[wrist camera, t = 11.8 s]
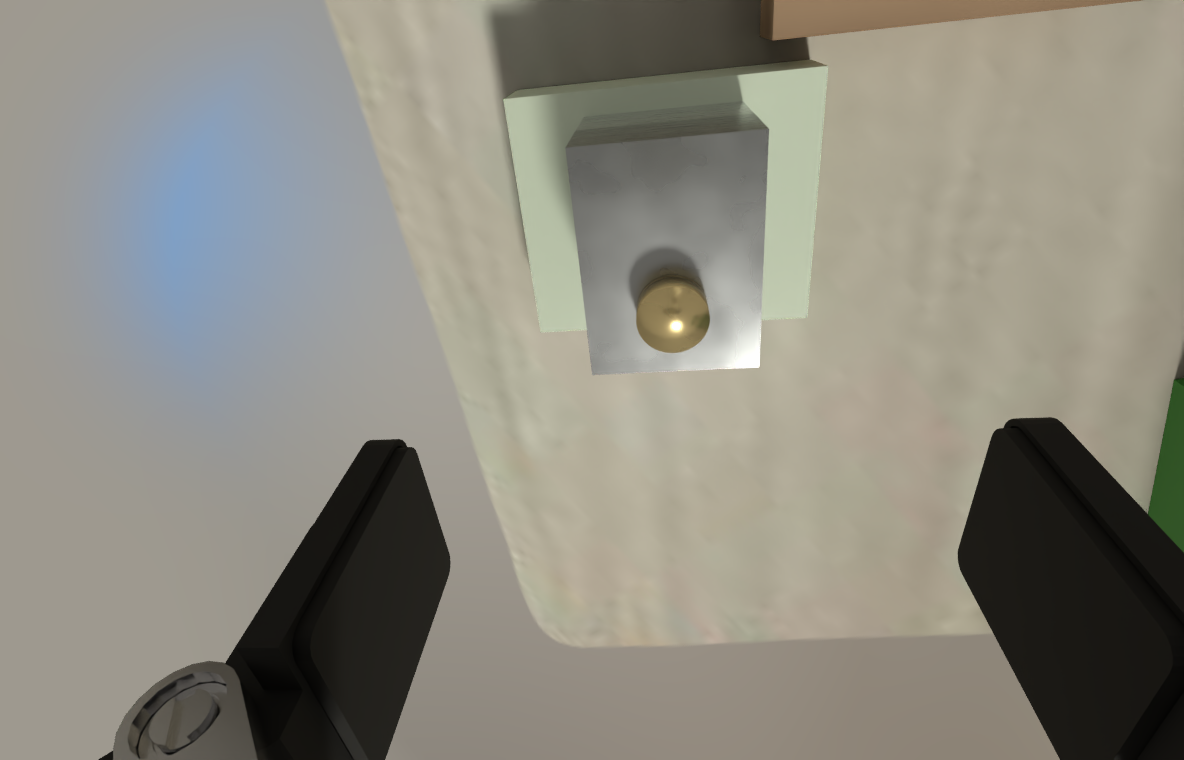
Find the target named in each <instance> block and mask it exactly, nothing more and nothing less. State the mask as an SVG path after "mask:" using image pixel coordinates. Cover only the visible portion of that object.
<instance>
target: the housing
mask: <svg viewBox="0 0 1184 760" xmlns="http://www.w3.org/2000/svg"><path fill="white" fill-rule="evenodd" d="M768 145H769V128H768V127H767V126H766V125H765V124H764V123H763V122H762V121H761V120H760V119H759V118H758V116H757V115H756V114H755V113H754V112H753V111H752V110H751V109H750V108H749V107H748V106H747V105H746V104H745V103H744V102H743V101H739V102H729V103H719V104H709V105H698V106H688V107H678V108H668V109H658V110H648V111H638V112H627V113H617V114H607V115H597V116H587V117H583V119H582V121H581V122H580V124H579V126H578V127H577V129H576V131H575V132H574V134H573V136H572V137H571V139H570V141H569V142H568V144H567V146H566V147H565V149H566V158H567V166H568V174H569V183H570V191H571V200H572V208H573V217H574V225H575V233H576V242H577V250H578V259H579V267H580V276H581V284H582V292H583V301H584V309H585V318H586V326H587V335H588V343H589V352H590V360H591V368H592V375H604V374H625V373H647V372H668V371H689V370H710V369H732V368H753V367H759V364H760V340H761V315H762V291H763V267H764V242H765V218H766V194H767V169H768Z"/></svg>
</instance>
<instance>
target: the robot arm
mask: <svg viewBox="0 0 1184 760" xmlns="http://www.w3.org/2000/svg"><path fill="white" fill-rule="evenodd" d="M958 563H959V567H960V570H961V572H962V575H963V577H964V578H965V580H966V582H967V584H968V586H969V588H970V590H971V592H972V594H973V595H974V597H975V599H976V601H977V603H978V605H979V607H980V609H981V611H982V613H983V614H984V616H985V618H986V620H987V622H988V624H989V626H990V628H991V630H992V631H993V633H994V635H995V637H996V639H997V641H998V643H999V645H1000V647H1001V649H1002V650H1003V652H1004V654H1005V656H1006V658H1007V660H1008V662H1009V664H1010V665H1011V667H1012V669H1013V671H1014V673H1015V675H1016V677H1017V679H1018V681H1019V683H1020V684H1021V686H1022V688H1023V690H1024V692H1025V694H1026V696H1027V698H1028V699H1029V701H1030V703H1031V705H1032V707H1033V709H1034V711H1035V713H1036V715H1037V717H1038V719H1039V720H1040V722H1041V724H1042V726H1043V728H1044V730H1045V731H1046V734H1047V736H1048V737H1049V739H1050V741H1051V743H1052V745H1053V747H1054V749H1055V751H1056V753H1057V755H1058V756H1059V758H1060V760H1184V552H1183V551H1182V550H1181V549H1180V548H1179V547H1178V546H1177V545H1176V544H1175V543H1174V542H1173V541H1172V540H1171V539H1170V537H1169V536H1168V535H1167V534H1166V533H1165V532H1164V531H1163V530H1162V529H1161V528H1160V527H1159V526H1158V525H1157V524H1156V523H1155V521H1154V520H1153V519H1152V518H1151V517H1150V516H1149V515H1148V514H1147V513H1146V512H1145V511H1144V510H1143V509H1142V508H1141V507H1140V506H1139V504H1138V503H1137V502H1136V501H1135V500H1134V499H1133V498H1132V497H1131V496H1130V495H1129V494H1128V493H1127V492H1126V491H1125V490H1124V488H1123V487H1122V486H1121V485H1120V484H1119V483H1118V482H1117V481H1116V480H1115V479H1114V478H1113V477H1112V476H1111V475H1110V474H1109V473H1108V471H1107V470H1106V469H1105V468H1104V467H1103V466H1102V465H1101V464H1100V463H1099V462H1098V461H1097V460H1096V459H1095V458H1094V457H1093V455H1092V454H1091V453H1090V452H1089V451H1088V450H1087V449H1086V448H1085V447H1084V446H1083V445H1082V444H1081V443H1080V442H1079V441H1078V439H1077V438H1076V437H1075V436H1074V435H1073V434H1072V433H1071V432H1070V431H1069V430H1068V429H1067V428H1066V427H1065V426H1064V425H1063V424H1062V423H1061V422H1060V421H1059V420H1058V419H1055V418H1051V417H1049V418H1019V419H1011V420H1009V421H1008V422H1007V423H1006V424H1005V426H1004V428H1001V429H996V430H995V431H994V433H993V435H992V437H991V441H990V444H989V448H988V451H987V454H986V458H985V461H984V464H983V468H982V471H981V474H980V478H979V481H978V485H977V488H976V491H975V495H974V498H973V501H972V505H971V508H970V511H969V515H968V518H967V522H966V525H965V528H964V532H963V535H962V538H961V542H960V545H959V549H958ZM449 572H450V555H449V552H448V548H447V545H446V542H445V539H444V536H443V533H442V530H441V526H440V524H439V520H438V517H437V514H436V511H435V508H434V505H433V502H432V499H431V495H430V492H429V489H428V486H427V483H426V480H425V477H424V473H423V470H422V468H421V464H420V461H419V458H418V455H417V453H416V450H415V449H414V448H412V447H407V446H406V443H405V442H404V441H403V440H400V439H392V440H370V441H367V442H366V443H365V444H364V446H363V447H362V448H361V450H360V452H359V453H358V455H357V456H356V458H355V459H354V461H353V463H352V464H351V466H350V467H349V469H348V471H347V472H346V474H345V475H344V477H343V479H342V480H341V482H340V483H339V485H338V487H337V488H336V490H335V491H334V493H333V495H332V496H331V498H330V499H329V501H328V502H327V504H326V506H325V507H324V509H323V510H322V512H321V513H320V515H319V517H318V518H317V520H316V522H315V523H314V524H313V526H312V527H311V528H310V530H309V531H308V533H307V534H306V536H305V537H304V539H303V541H302V542H301V544H300V545H299V547H298V549H297V550H296V552H295V553H294V555H293V557H292V558H291V560H290V561H289V563H288V564H287V566H286V568H285V569H284V571H283V572H282V574H281V576H280V577H279V579H278V580H277V582H276V583H275V585H274V587H273V588H272V590H271V592H270V593H269V595H268V596H267V598H266V599H265V601H264V602H263V604H262V606H261V607H260V609H259V610H258V612H257V614H256V615H255V617H254V619H253V620H252V622H251V623H250V625H249V626H248V628H247V629H246V631H245V633H244V634H243V636H242V637H241V639H240V641H239V642H238V644H237V645H236V647H235V649H234V650H233V652H232V653H231V655H230V656H229V658H228V660H227V661H226V663H222V662H213V661H207V662H202V663H196V664H192V665H190V666H187V667H185V668H182V669H180V670H177V671H175V672H173V673H171V674H170V675H168V676H167V677H165V678H164V679H162V680H160V681H159V682H157V683H156V684H155V685H153V686H152V687H151V688H150V689H149V690H148V691H147V692H146V693H145V694H143V695H142V696H141V697H140V698H139V699H138V700H137V701H136V703H135V704H134V705H133V706H132V708H131V709H130V710H129V711H128V713H127V714H126V715H125V717H124V719H123V721H122V723H121V725H120V726H119V729H118V731H117V732H116V736H115V742H114V748H113V751H112V752H110V753H108V754H107V755H105V756H104V757H102V758H100V759H99V760H385V758H386V755H387V753H388V750H389V747H390V744H391V741H392V738H393V735H394V733H395V730H396V727H397V724H398V721H399V718H400V715H401V712H402V709H403V706H404V704H405V701H406V698H407V695H408V691H409V689H410V686H411V683H412V680H413V677H414V675H415V672H416V669H417V665H418V663H419V660H420V657H421V654H422V651H423V648H424V646H425V643H426V640H427V637H428V633H429V631H430V628H431V625H432V622H433V619H434V617H435V614H436V611H437V608H438V605H439V602H440V599H441V596H442V593H443V590H444V587H445V585H446V582H447V579H448V576H449Z"/></svg>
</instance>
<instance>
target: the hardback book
mask: <svg viewBox="0 0 1184 760" xmlns="http://www.w3.org/2000/svg"><path fill="white" fill-rule="evenodd" d="M1148 515H1149V516H1150V517H1151V518H1152V519H1153V520H1154V521H1155V523H1156V524H1157V525H1158V526H1159V527H1160V528H1161V529H1162V530H1163V531H1164V532H1165V533H1166V534H1167V535H1168V536H1169V537H1170V539H1171V540H1172V541H1173V542H1174V543H1175V544H1176V545H1177V546H1178V547H1179V548H1180V549H1181V550H1182V551H1183V552H1184V378H1181V379H1175V380H1174V383H1173V388H1172V393H1171V398H1170V404H1169V409H1168V414H1167V419H1166V424H1165V429H1164V434H1163V439H1162V444H1161V450H1160V455H1159V460H1158V465H1157V470H1156V475H1155V480H1154V485H1153V491H1152V496H1151V501H1150V506H1149V511H1148Z"/></svg>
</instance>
